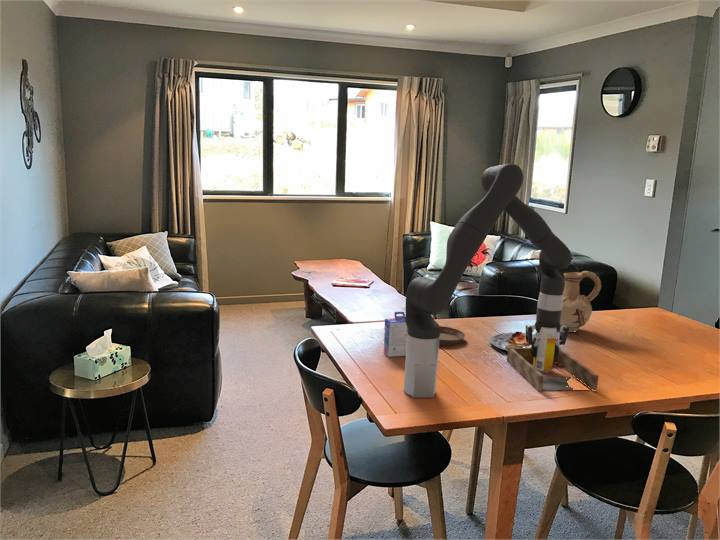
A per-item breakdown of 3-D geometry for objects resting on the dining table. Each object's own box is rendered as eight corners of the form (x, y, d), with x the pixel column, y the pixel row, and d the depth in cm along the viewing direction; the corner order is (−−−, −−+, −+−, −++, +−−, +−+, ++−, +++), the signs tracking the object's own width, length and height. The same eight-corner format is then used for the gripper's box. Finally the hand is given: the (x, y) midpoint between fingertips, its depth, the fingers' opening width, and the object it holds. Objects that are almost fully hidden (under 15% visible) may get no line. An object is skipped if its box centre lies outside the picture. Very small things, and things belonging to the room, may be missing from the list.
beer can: (554, 369, 192) (559, 325, 189) (549, 374, 186) (554, 329, 184) (535, 365, 195) (540, 322, 192) (530, 370, 190) (535, 326, 187)
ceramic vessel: (560, 321, 250) (567, 264, 245) (602, 332, 236) (610, 272, 231) (535, 327, 239) (542, 268, 234) (578, 340, 224) (586, 277, 219)
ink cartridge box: (408, 350, 203) (411, 310, 201) (415, 355, 198) (418, 314, 195) (382, 352, 200) (384, 311, 197) (388, 357, 195) (390, 315, 192)
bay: (596, 391, 175) (598, 375, 174) (538, 391, 172) (540, 375, 171) (558, 361, 199) (560, 347, 198) (506, 361, 197) (508, 347, 196)
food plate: (514, 333, 229) (515, 324, 228) (570, 349, 213) (571, 340, 212) (477, 347, 212) (478, 338, 211) (535, 366, 196) (537, 356, 195)
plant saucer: (450, 331, 228) (451, 324, 228) (473, 346, 212) (473, 338, 211) (409, 334, 223) (409, 326, 222) (429, 349, 206) (429, 340, 206)
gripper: (533, 309, 182) (527, 360, 185) (576, 310, 184) (570, 360, 187) (523, 303, 189) (518, 352, 192) (565, 304, 191) (559, 352, 194)
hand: (543, 356), depth 190 cm, fingers closed on beer can, 6 cm apart
